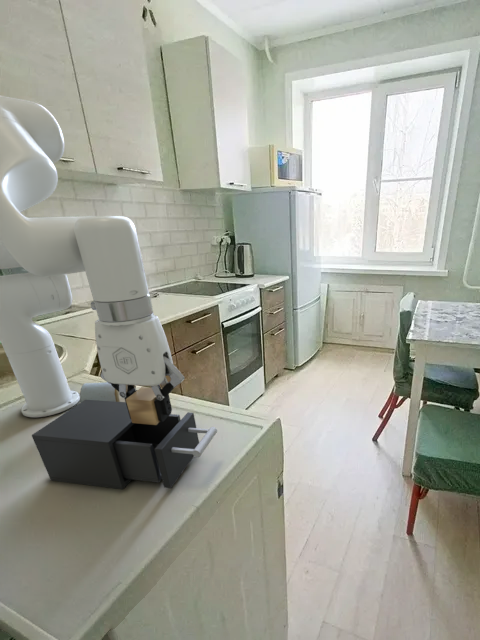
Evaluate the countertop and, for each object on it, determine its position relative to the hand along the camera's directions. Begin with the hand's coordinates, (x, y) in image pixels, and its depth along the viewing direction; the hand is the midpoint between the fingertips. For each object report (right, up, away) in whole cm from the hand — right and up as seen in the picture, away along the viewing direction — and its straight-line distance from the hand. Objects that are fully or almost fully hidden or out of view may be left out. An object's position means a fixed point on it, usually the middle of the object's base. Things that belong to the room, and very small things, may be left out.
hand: (151, 415), depth 59 cm
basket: (+1, -9, +4) cm, 10 cm away
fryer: (-11, -10, +7) cm, 16 cm away
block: (0, 0, 0) cm, 0 cm away
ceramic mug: (-21, -1, +26) cm, 33 cm away
